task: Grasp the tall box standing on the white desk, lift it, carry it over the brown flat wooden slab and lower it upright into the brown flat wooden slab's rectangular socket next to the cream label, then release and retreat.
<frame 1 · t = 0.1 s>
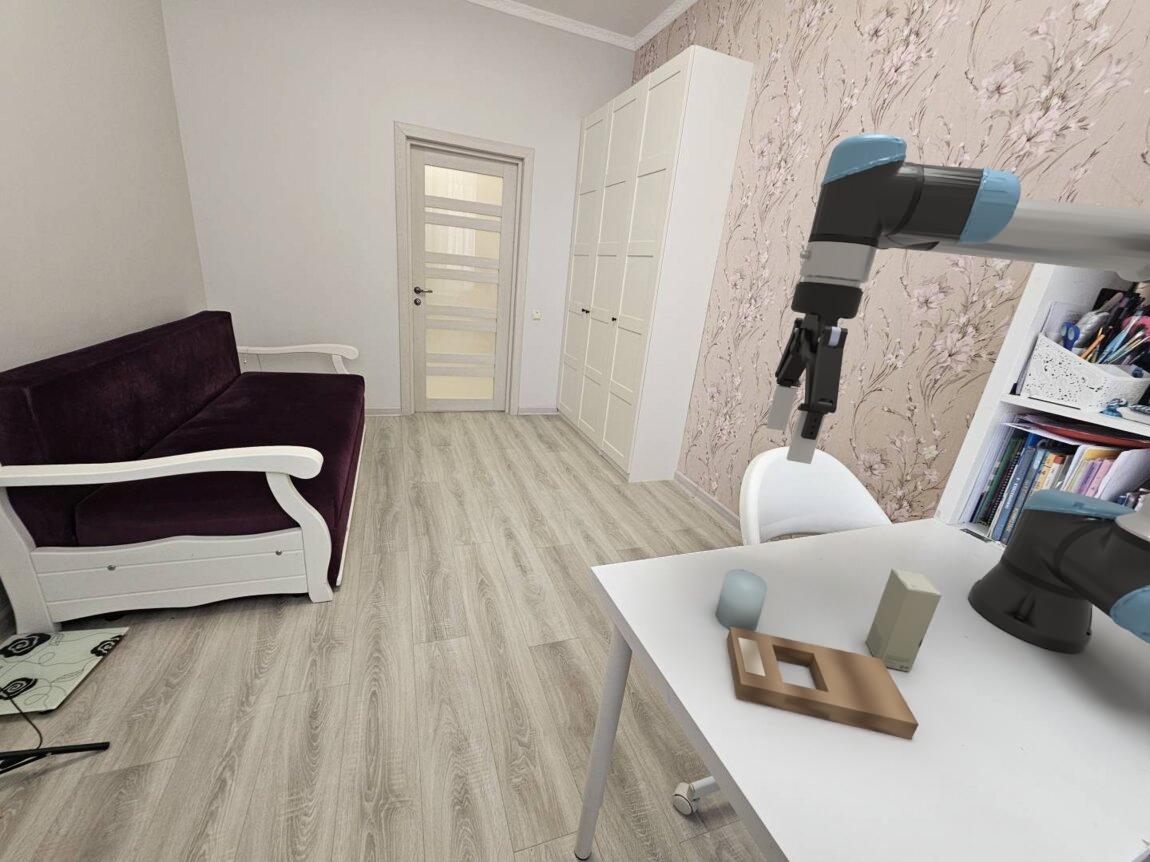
hand: (785, 443, 65), 28 cm above the table, fingers open, 13 cm apart
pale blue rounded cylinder: (735, 619, 72), on the table
box: (885, 656, 68), on the table
brown flat wooden slab: (810, 684, 61), on the table
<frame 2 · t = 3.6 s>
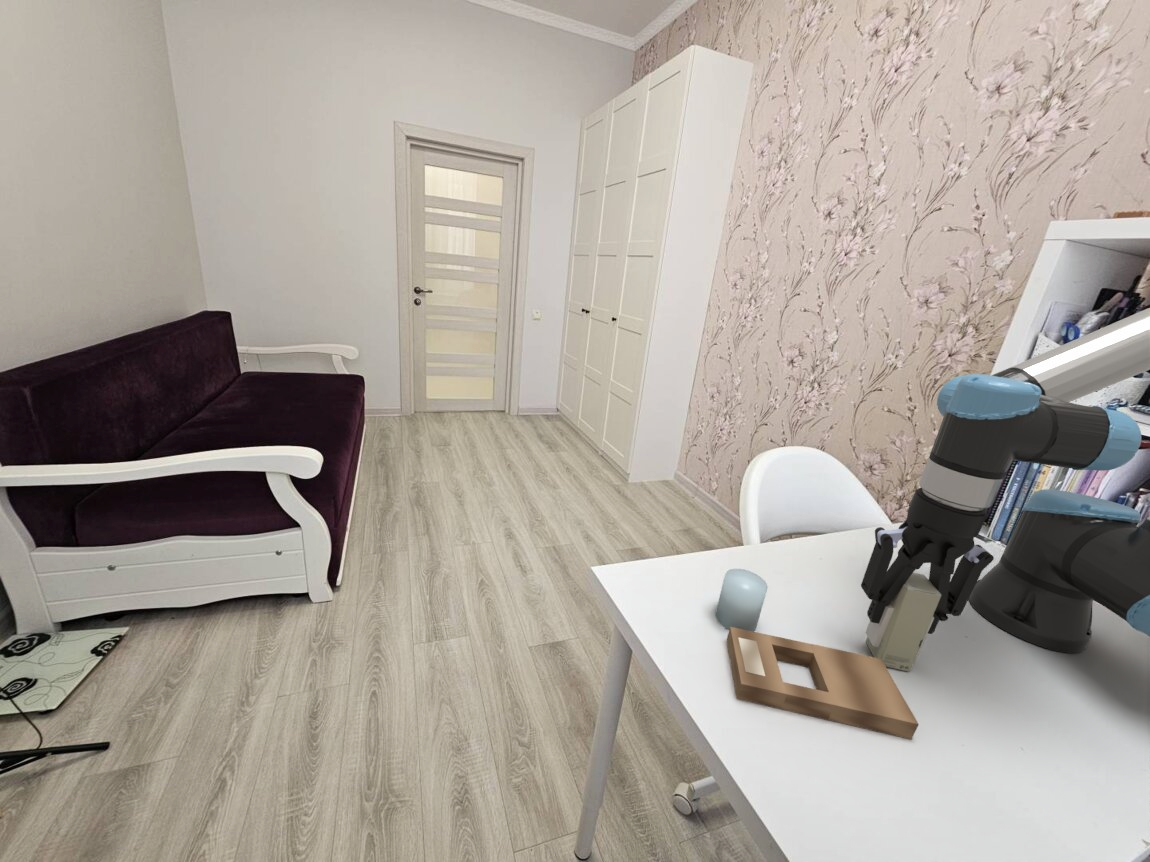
hand: (890, 643, 67), 2 cm above the table, fingers closed on box, 4 cm apart
box: (885, 656, 68), on the table, touching gripper
everything else where it was.
when the fingers open (3 cm above the table, at t = 8.5 s): box drops 1 cm, resting in brown flat wooden slab.
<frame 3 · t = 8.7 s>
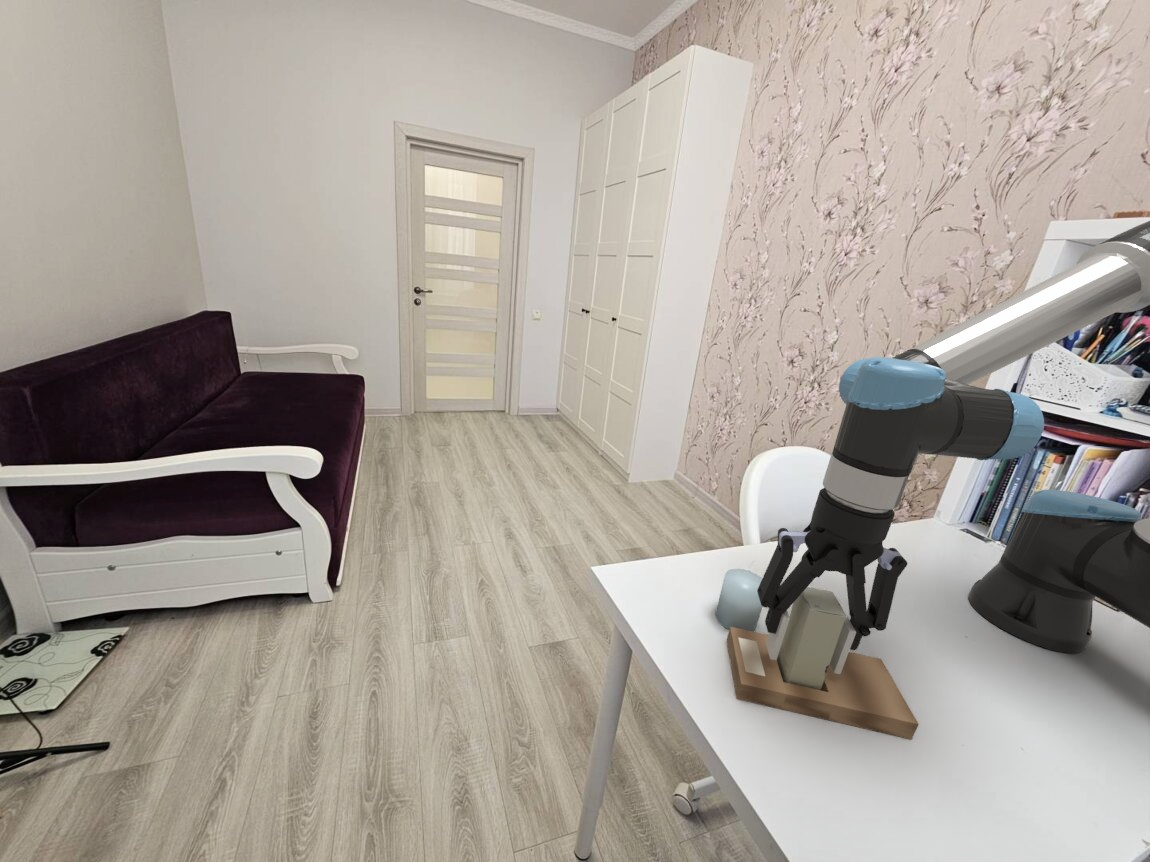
hand: (802, 658, 60), 4 cm above the table, fingers open, 7 cm apart
box: (793, 682, 62), resting in brown flat wooden slab
everything else where it was.
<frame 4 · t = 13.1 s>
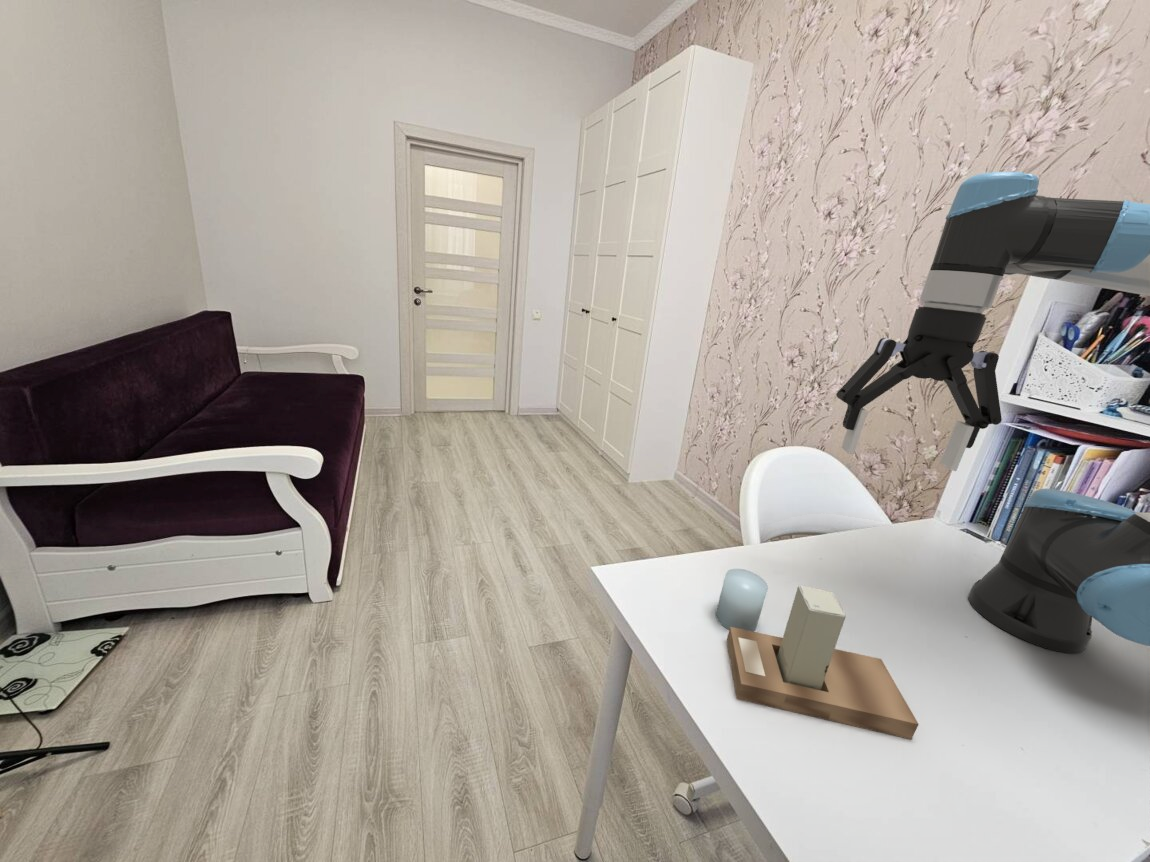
hand: (896, 459, 68), 27 cm above the table, fingers open, 13 cm apart
nothing on the table moved.
at the end: box 0.0 cm from the target spot, resting in brown flat wooden slab; box tilted 0°; box touching table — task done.
